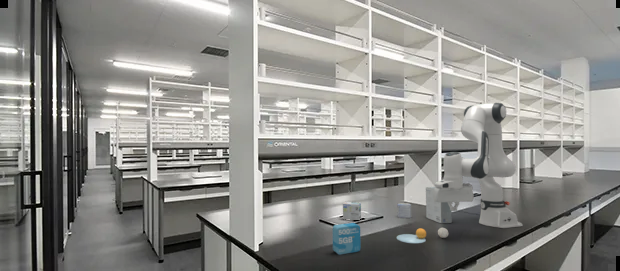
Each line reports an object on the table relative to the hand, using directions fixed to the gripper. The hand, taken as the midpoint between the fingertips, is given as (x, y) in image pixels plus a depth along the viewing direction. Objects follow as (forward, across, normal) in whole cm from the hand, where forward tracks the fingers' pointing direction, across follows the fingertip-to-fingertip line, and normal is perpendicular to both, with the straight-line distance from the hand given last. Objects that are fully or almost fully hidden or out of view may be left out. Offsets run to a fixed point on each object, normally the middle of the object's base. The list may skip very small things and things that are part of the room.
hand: (453, 210), depth 158 cm
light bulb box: (+14, +44, -41) cm, 62 cm away
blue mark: (+14, +23, 0) cm, 27 cm away
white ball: (+11, +6, 0) cm, 13 cm away
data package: (+14, +59, +14) cm, 62 cm away
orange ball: (+11, +18, 0) cm, 21 cm away
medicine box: (+14, +9, -43) cm, 46 cm away
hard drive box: (+14, -9, -33) cm, 37 cm away
